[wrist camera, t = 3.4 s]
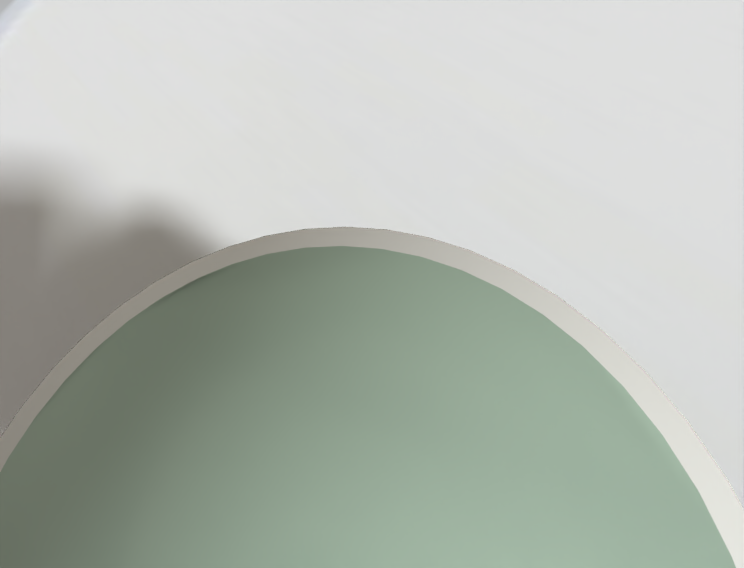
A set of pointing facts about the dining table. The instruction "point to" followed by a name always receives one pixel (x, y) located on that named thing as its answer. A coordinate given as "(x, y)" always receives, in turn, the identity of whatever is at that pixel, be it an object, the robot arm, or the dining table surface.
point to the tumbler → (356, 425)
